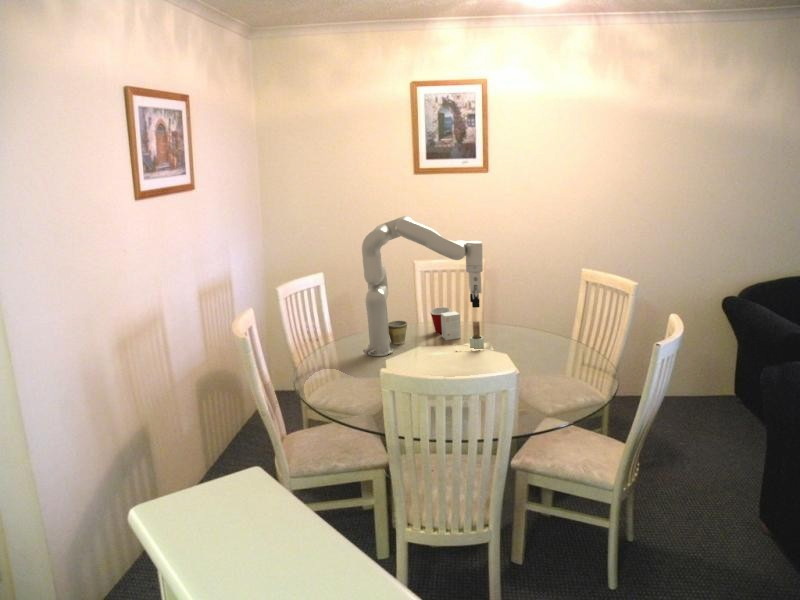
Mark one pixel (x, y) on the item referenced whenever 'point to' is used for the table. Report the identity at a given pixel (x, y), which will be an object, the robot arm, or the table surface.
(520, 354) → the table surface
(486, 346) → the trivet
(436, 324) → the plastic cup
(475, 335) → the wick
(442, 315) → the small box
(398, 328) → the ceramic cup
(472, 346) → the jar
